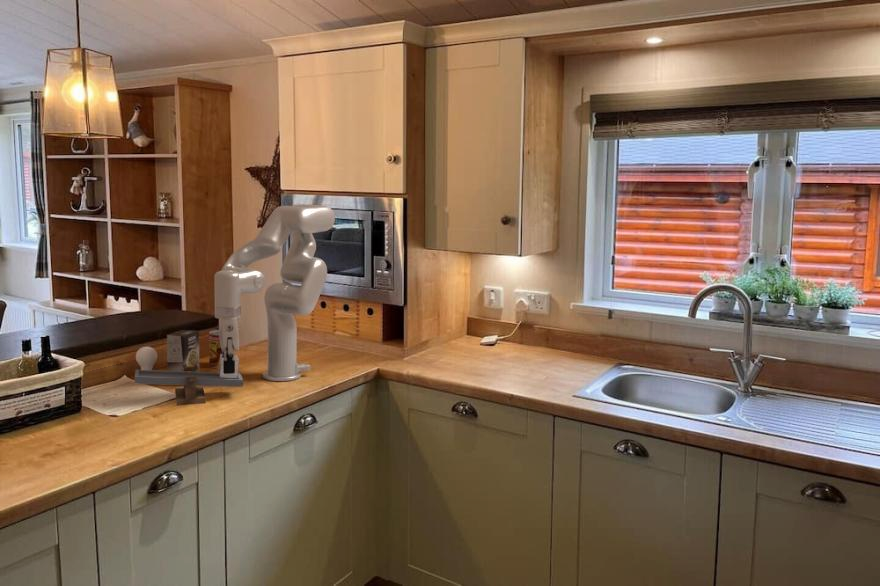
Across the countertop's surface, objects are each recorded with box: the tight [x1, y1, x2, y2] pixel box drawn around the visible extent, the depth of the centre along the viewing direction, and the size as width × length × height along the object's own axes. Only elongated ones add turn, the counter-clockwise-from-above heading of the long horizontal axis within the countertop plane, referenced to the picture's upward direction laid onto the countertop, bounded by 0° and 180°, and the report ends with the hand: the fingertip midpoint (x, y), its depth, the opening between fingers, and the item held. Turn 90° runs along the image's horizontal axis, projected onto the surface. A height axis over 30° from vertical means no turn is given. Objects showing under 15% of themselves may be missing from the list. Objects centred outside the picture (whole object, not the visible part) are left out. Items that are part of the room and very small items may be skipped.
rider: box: [217, 354, 240, 379], centre depth 214 cm, size 5×5×7 cm
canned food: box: [208, 329, 222, 369], centre depth 247 cm, size 8×8×12 cm
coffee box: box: [166, 329, 200, 387], centre depth 227 cm, size 9×6×16 cm
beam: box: [133, 369, 244, 388], centre depth 210 cm, size 30×8×2 cm, turn 113°
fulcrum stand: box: [174, 367, 207, 406], centre depth 210 cm, size 8×13×8 cm, turn 22°
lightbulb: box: [135, 346, 158, 370], centre depth 227 cm, size 6×6×11 cm
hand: (228, 370), depth 214 cm, fingers closed on rider, 5 cm apart
